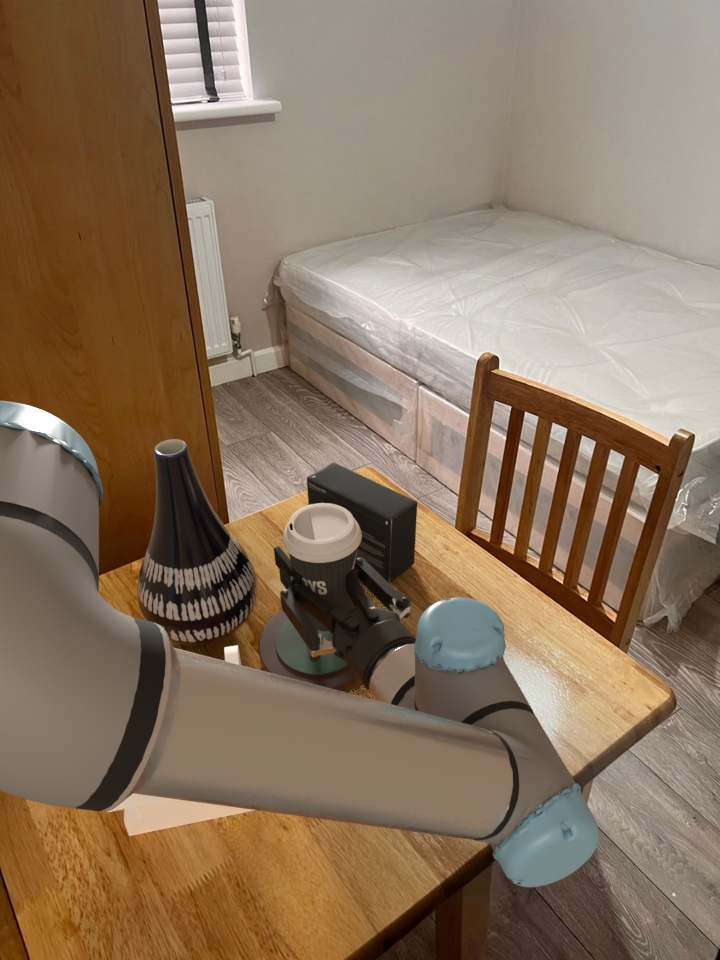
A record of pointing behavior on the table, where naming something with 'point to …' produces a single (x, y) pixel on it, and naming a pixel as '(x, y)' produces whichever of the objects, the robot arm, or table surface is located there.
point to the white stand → (173, 800)
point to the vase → (192, 559)
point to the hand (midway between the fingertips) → (294, 548)
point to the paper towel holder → (301, 657)
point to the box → (371, 517)
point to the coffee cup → (323, 551)
